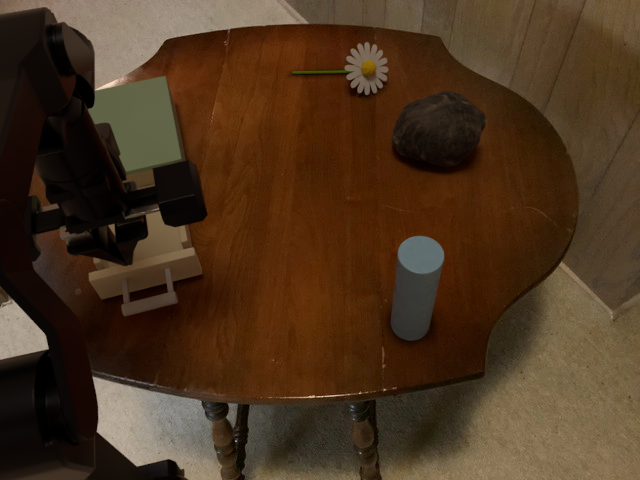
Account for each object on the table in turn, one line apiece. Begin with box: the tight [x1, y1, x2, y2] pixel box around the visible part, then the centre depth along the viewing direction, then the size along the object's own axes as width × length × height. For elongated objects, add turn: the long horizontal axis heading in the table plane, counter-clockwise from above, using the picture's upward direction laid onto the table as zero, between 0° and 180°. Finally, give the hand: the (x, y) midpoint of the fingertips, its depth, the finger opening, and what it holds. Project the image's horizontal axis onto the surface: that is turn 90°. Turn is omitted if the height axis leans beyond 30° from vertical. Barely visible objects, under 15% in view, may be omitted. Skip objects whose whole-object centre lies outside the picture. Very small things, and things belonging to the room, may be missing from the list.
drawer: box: [88, 169, 203, 317], centre depth 73 cm, size 21×12×4 cm, turn 15°
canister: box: [390, 235, 445, 342], centre depth 63 cm, size 4×4×14 cm
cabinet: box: [88, 75, 187, 175], centre depth 84 cm, size 17×13×6 cm
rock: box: [391, 89, 488, 168], centre depth 80 cm, size 10×11×10 cm
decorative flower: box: [292, 41, 389, 96], centre depth 92 cm, size 8×6×15 cm
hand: (128, 261), depth 61 cm, fingers closed
